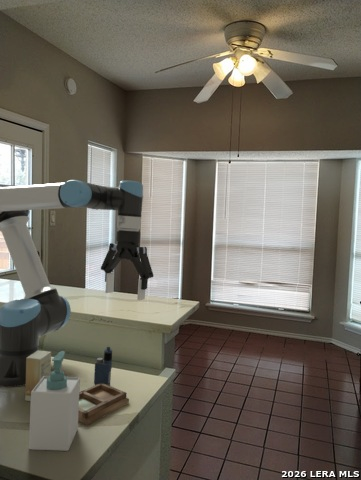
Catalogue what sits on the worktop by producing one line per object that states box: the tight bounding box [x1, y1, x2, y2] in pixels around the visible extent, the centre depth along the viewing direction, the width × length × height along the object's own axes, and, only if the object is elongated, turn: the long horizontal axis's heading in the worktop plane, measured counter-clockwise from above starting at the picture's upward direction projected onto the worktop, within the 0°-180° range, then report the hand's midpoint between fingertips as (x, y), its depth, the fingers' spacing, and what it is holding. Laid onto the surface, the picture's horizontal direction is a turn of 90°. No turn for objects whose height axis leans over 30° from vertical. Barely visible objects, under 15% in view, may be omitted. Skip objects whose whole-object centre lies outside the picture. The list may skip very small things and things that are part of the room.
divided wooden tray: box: [78, 383, 130, 426], centre depth 102 cm, size 12×15×3 cm
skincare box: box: [24, 349, 52, 402], centre depth 105 cm, size 6×4×12 cm
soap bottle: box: [28, 350, 81, 452], centre depth 85 cm, size 9×9×19 cm
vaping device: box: [93, 346, 113, 386], centre depth 114 cm, size 3×5×12 cm, turn 78°
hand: (124, 296), depth 121 cm, fingers open, 13 cm apart
